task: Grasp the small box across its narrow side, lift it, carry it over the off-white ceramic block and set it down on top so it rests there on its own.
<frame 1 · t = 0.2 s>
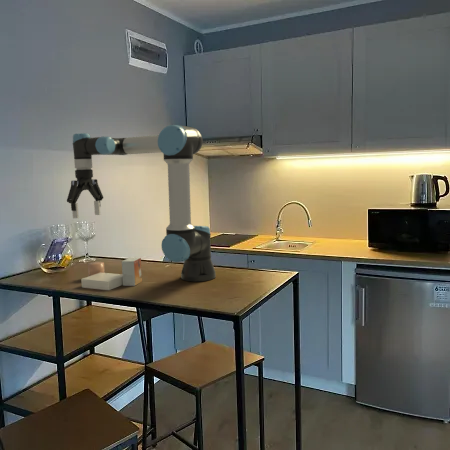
hand: (87, 216, 205), 28 cm above the table, fingers open, 13 cm apart
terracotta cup: (96, 278, 204), on the table
ceramic block: (104, 286, 192), on the table
small box: (132, 284, 193), on the table
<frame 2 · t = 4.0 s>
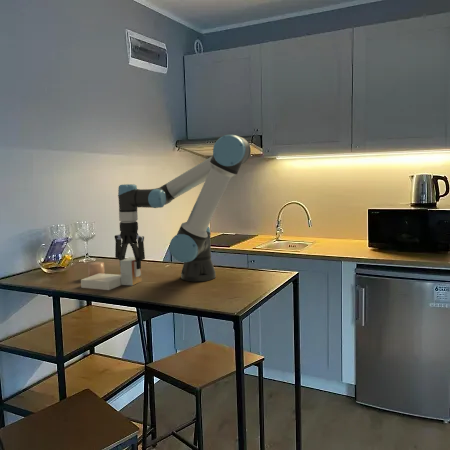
hand: (130, 275, 193), 3 cm above the table, fingers open, 6 cm apart
ceramic block: (104, 286, 192), on the table, touching gripper
small box: (131, 283, 194), on the table, touching gripper
everything else where it was.
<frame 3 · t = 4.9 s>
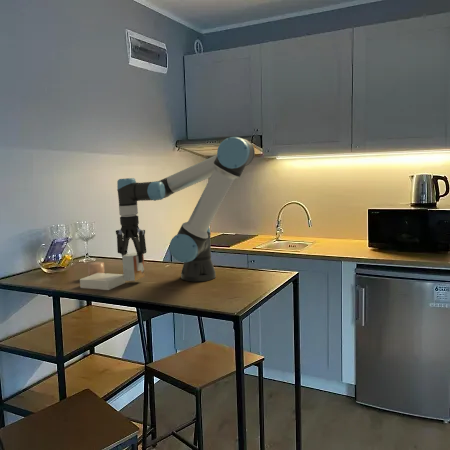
hand: (133, 269, 192), 6 cm above the table, fingers closed on small box, 6 cm apart
ceramic block: (103, 286, 192), on the table
small box: (134, 279, 193), point 2 cm above the table, touching gripper
everything else where it was.
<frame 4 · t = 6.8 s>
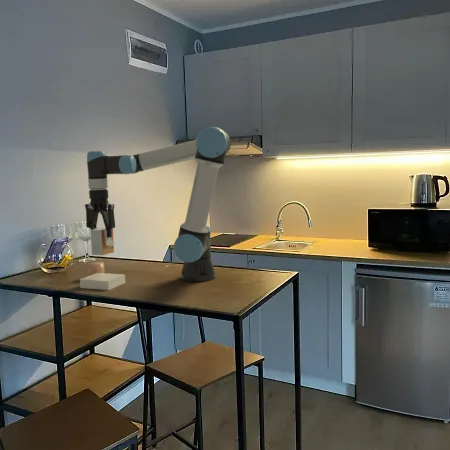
hand: (101, 244, 190), 17 cm above the table, fingers closed on small box, 6 cm apart
small box: (103, 254, 191), point 13 cm above the table, touching gripper
everything else where it was.
when the fingers open (8 cm above the table, at t = 9.0 s): small box stays where it is, resting on ceramic block.
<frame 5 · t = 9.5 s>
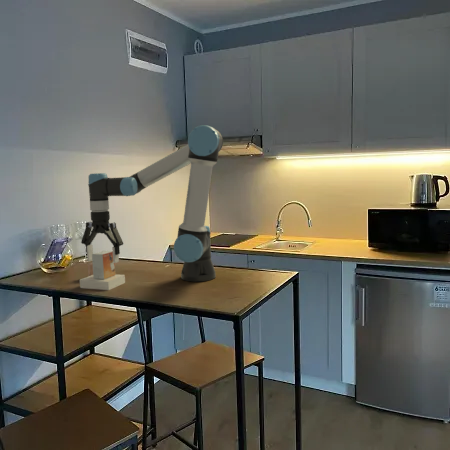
hand: (103, 261, 191), 10 cm above the table, fingers open, 13 cm apart
ceramic block: (103, 286, 192), on the table, touching small box
small box: (104, 277, 192), point 3 cm above the table, touching ceramic block
everything else where it was.
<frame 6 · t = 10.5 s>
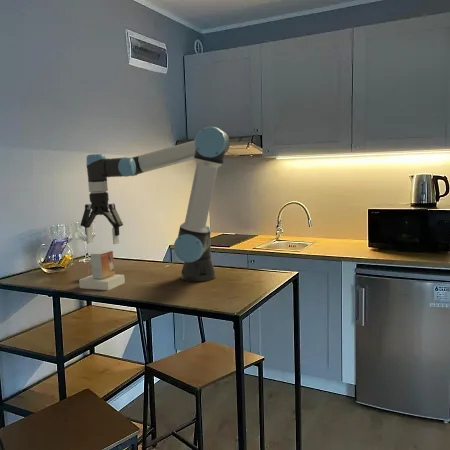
hand: (102, 243, 190), 18 cm above the table, fingers open, 13 cm apart
ceramic block: (102, 286, 192), on the table
small box: (104, 277, 192), point 3 cm above the table
everything else where it was.
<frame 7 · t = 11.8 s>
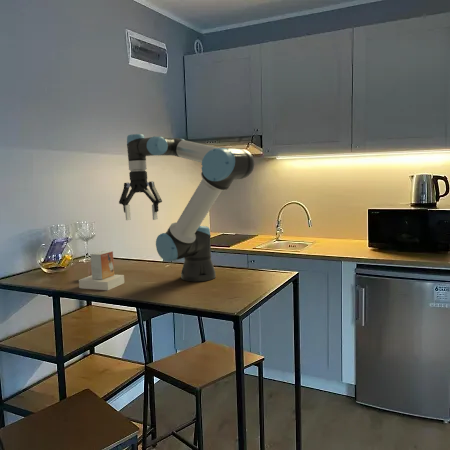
hand: (141, 219, 199), 26 cm above the table, fingers open, 13 cm apart
ceramic block: (102, 286, 192), on the table, touching small box
small box: (103, 277, 191), point 3 cm above the table, touching ceramic block
everything else where it was.
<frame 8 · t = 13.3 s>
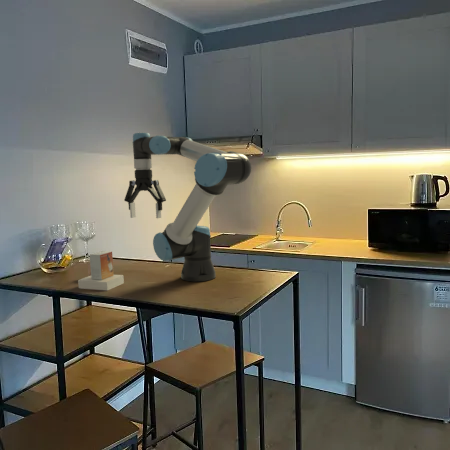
hand: (145, 217, 200), 27 cm above the table, fingers open, 13 cm apart
ceramic block: (101, 286, 191), on the table
small box: (102, 277, 191), point 3 cm above the table
everything else where it was.
at the end: small box inside the target area on the ceramic block (0.7 cm from its centre), point 3.8 cm above the ceramic block's base; small box tilted 0°; the gripper is holding nothing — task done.
